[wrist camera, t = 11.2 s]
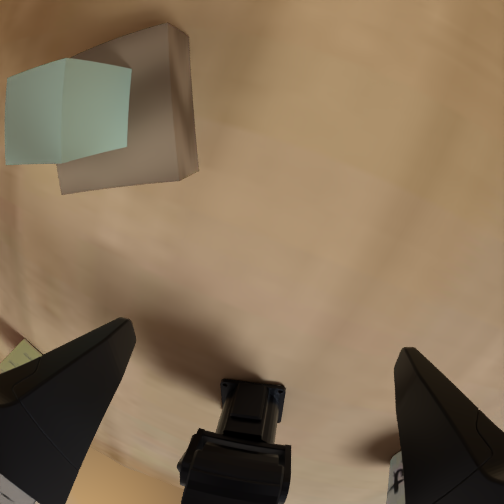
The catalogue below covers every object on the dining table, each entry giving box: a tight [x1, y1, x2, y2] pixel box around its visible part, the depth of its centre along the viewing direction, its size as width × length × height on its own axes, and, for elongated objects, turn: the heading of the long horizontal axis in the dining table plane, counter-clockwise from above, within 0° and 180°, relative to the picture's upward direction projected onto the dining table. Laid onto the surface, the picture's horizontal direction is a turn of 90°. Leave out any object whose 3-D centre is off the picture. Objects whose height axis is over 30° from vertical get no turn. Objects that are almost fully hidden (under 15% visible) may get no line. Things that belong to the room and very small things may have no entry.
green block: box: [5, 58, 132, 165], centre depth 13 cm, size 5×5×6 cm
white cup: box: [386, 451, 405, 504], centre depth 28 cm, size 10×15×10 cm
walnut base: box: [56, 23, 199, 195], centre depth 18 cm, size 10×10×4 cm
